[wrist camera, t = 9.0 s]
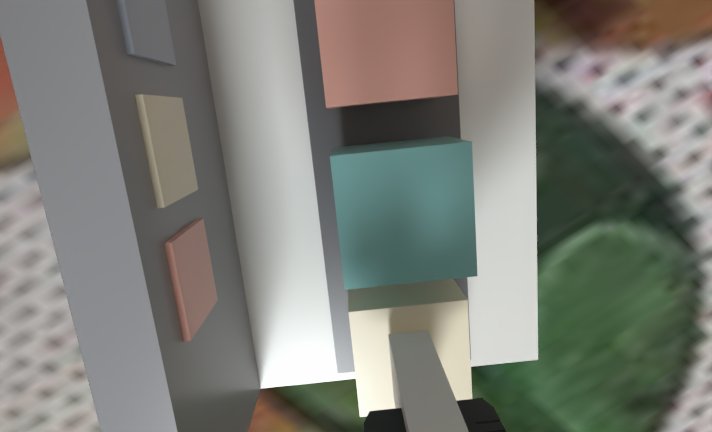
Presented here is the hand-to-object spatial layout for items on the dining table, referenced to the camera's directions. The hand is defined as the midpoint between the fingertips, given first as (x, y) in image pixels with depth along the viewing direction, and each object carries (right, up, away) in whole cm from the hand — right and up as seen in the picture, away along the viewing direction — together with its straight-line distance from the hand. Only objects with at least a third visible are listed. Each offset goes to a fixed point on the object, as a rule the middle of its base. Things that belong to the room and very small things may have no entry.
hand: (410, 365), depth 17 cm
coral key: (-1, +12, +1) cm, 13 cm away
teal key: (-1, +6, +1) cm, 6 cm away
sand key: (0, +1, +4) cm, 4 cm away
